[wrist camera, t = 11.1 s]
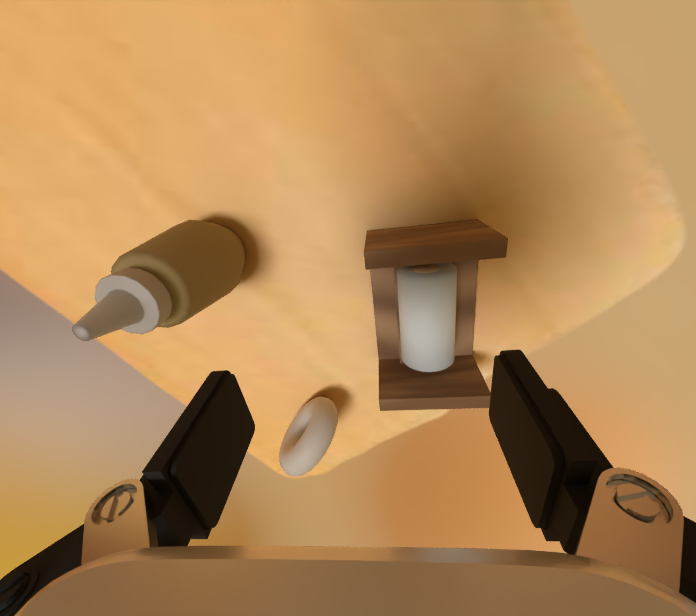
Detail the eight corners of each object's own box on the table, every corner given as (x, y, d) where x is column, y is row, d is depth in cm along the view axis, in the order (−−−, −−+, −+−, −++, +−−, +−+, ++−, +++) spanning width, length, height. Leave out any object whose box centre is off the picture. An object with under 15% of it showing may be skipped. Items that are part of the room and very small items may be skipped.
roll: (395, 261, 32) (397, 280, 27) (450, 256, 31) (463, 275, 26) (400, 344, 37) (402, 374, 32) (449, 342, 36) (459, 372, 31)
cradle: (367, 230, 32) (363, 251, 25) (477, 219, 31) (507, 238, 23) (379, 364, 39) (380, 410, 32) (469, 360, 38) (490, 407, 31)
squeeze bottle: (259, 224, 33) (144, 289, 17) (252, 291, 36) (152, 398, 20) (184, 204, 33) (-5, 251, 16) (185, 274, 36) (29, 368, 20)
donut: (305, 430, 46) (287, 496, 37) (286, 418, 45) (263, 483, 36) (347, 391, 42) (338, 455, 33) (327, 377, 41) (312, 439, 32)
